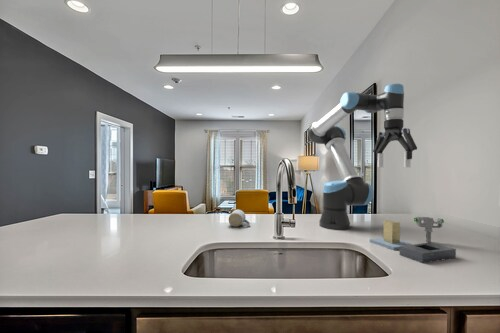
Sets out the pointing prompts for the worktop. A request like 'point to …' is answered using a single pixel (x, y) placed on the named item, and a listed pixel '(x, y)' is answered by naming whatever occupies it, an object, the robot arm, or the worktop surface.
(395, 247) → the blue mat
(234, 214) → the ceramic mug
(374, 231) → the worktop surface
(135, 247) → the worktop surface
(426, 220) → the mechanical component
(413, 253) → the grey recessed block
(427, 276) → the worktop surface
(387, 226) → the brass block
